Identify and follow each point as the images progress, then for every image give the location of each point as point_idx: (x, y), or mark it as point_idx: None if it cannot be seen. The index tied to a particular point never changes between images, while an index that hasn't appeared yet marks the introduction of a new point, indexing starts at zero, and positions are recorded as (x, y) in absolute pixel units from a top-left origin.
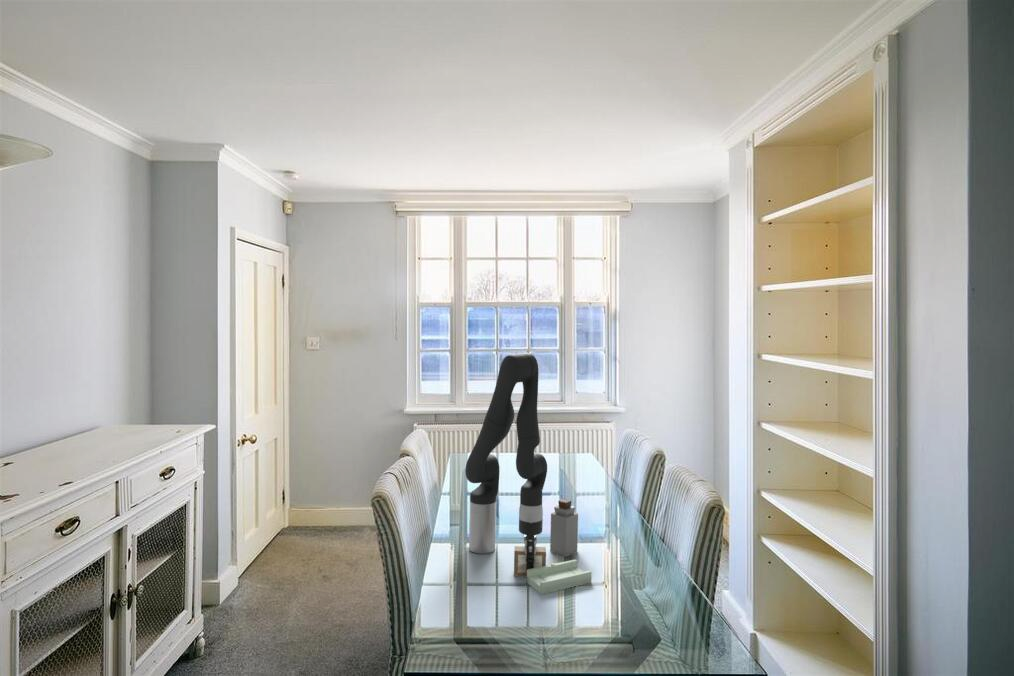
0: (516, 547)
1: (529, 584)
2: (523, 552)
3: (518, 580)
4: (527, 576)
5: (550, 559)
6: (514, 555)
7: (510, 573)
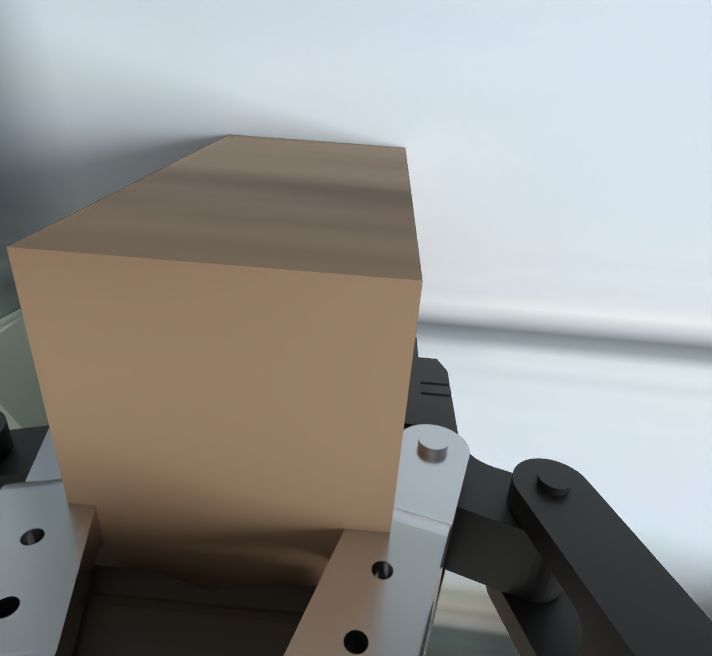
0: (309, 329)
1: (20, 309)
2: (76, 455)
3: (101, 189)
4: (6, 324)
5: (665, 563)
6: (79, 213)
7: (303, 86)
